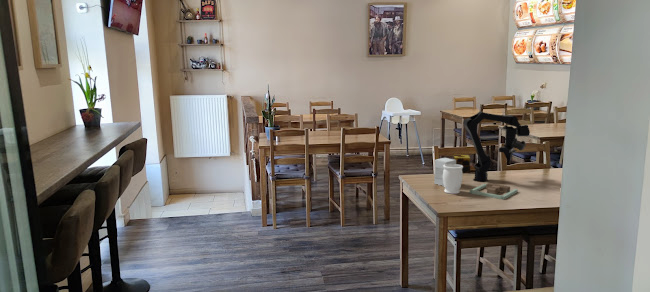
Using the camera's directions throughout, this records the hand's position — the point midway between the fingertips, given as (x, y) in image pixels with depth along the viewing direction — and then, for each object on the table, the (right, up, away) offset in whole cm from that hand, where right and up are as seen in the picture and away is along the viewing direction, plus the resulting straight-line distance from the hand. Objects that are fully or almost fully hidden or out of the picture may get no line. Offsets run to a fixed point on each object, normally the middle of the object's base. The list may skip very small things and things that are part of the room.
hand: (509, 162), depth 288 cm
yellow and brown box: (-21, -7, +26) cm, 34 cm away
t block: (-17, -16, -24) cm, 33 cm away
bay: (-18, -16, -25) cm, 35 cm away
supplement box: (-41, -13, -7) cm, 43 cm away
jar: (-40, -16, -23) cm, 49 cm away
